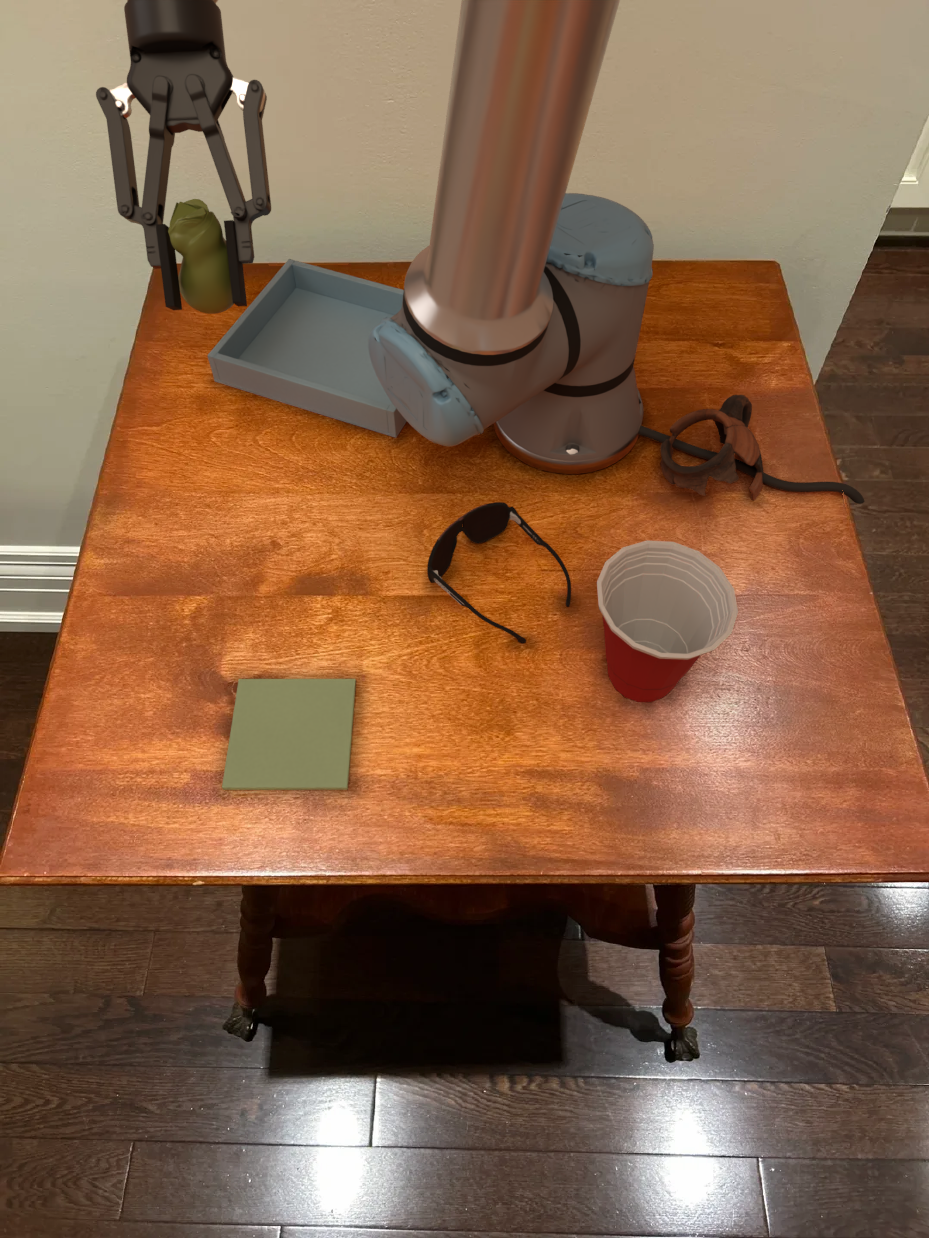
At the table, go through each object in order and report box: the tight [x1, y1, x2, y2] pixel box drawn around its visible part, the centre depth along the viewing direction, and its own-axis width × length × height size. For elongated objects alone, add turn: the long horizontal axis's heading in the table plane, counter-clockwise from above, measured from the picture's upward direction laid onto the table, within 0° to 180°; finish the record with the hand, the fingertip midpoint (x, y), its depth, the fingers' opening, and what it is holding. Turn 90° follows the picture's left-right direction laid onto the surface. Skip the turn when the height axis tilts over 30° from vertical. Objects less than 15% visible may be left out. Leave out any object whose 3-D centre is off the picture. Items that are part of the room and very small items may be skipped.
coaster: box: [221, 678, 357, 791], centre depth 79 cm, size 10×10×1 cm
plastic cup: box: [596, 540, 739, 703], centre depth 77 cm, size 11×11×12 cm
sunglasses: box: [426, 501, 572, 644], centre depth 85 cm, size 10×12×5 cm
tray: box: [207, 258, 408, 439], centre depth 103 cm, size 22×18×4 cm
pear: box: [168, 198, 235, 315], centre depth 82 cm, size 6×5×10 cm
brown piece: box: [659, 394, 764, 501], centre depth 93 cm, size 12×10×8 cm
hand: (207, 305), depth 81 cm, fingers closed on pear, 5 cm apart
